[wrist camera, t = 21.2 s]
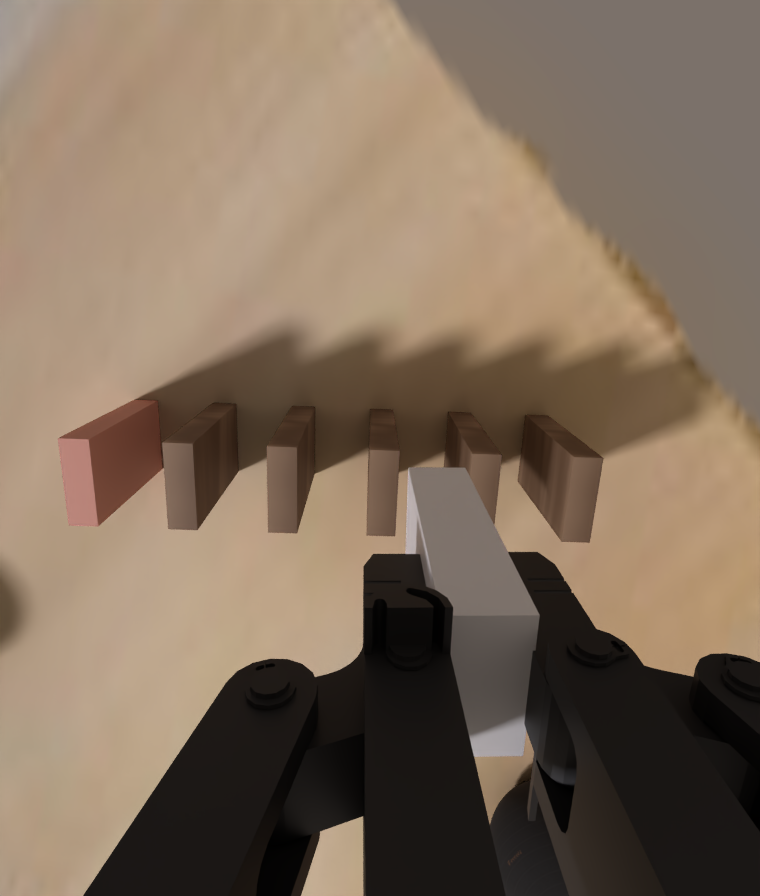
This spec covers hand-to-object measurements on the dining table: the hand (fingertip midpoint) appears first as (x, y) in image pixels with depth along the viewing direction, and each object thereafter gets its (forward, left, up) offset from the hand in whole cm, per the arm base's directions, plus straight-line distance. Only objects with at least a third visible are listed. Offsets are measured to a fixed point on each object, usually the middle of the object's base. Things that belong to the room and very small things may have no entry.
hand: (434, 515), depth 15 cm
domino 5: (+5, +5, -25) cm, 26 cm away
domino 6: (+5, +10, -25) cm, 27 cm away
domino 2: (+5, -12, -25) cm, 28 cm away
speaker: (+37, +14, -25) cm, 47 cm away
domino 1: (+5, -17, -25) cm, 31 cm away
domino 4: (+5, -1, -25) cm, 25 cm away
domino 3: (+5, -6, -25) cm, 26 cm away
